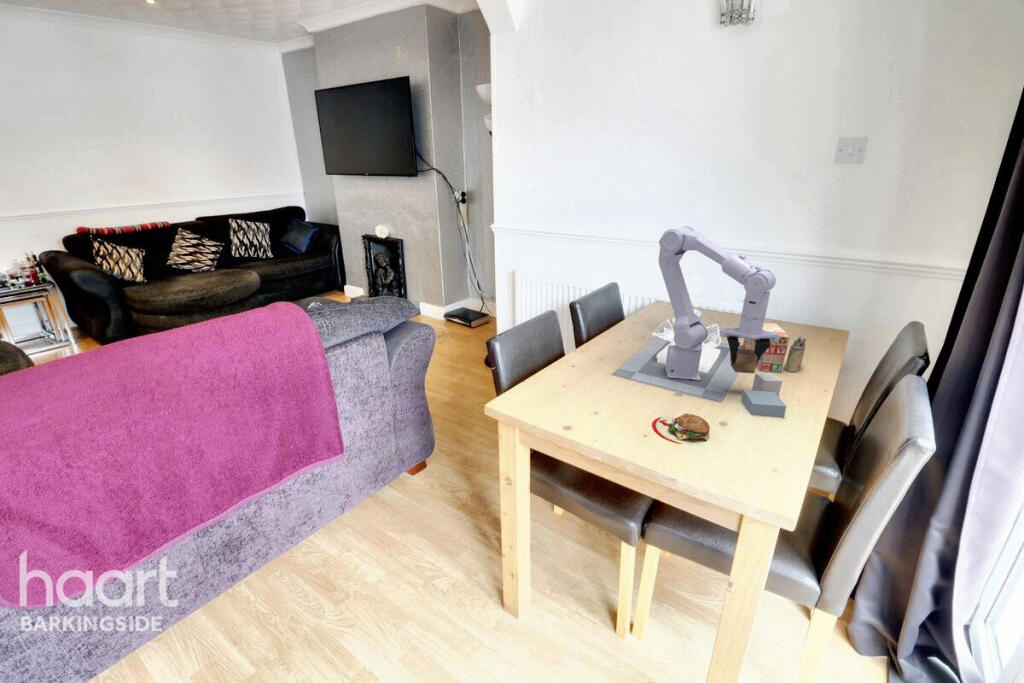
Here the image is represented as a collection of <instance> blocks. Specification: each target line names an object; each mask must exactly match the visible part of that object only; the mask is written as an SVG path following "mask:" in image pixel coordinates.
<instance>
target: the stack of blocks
mask: <svg viewBox="0 0 1024 683" xmlns="http://www.w3.org/2000/svg"><path fill="white" fill-rule="evenodd" d="M762 331H768V332H776V333H778V334H779V335H780V336H779V341H778V342H776V341H773V340H770V343H771V345H770V347H769V348H768V349H767V350H766V351H765V352H764V353H763V355H762V356H761V358H760V359H759V361H758V363H757V365H756V368H757V369H758V371H759V372H763V373H777V374H778V373H779V374H781V372H782V369H783V366H784V361H785V356H786V355H787V354H786V353H787V351H788V346H789V342H790V338H791V337H790V336H789V335H788V334H787V332H786V330H784V329H783V328H782V327H780V326H779V324H777V323H773V322H772V323H771V322H764V324H763V329H762ZM755 340H756V339H747V338H743V342H742V343H743V344H742V349H750V350H753V351H754V350H755Z"/></svg>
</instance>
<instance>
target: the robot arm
mask: <svg viewBox="0 0 1024 683" xmlns="http://www.w3.org/2000/svg"><path fill="white" fill-rule="evenodd" d="M658 244H659V254H658V265H659V268H660V271H661V275H662V278H663V282H664V285H665V288H666V291H667V294H668V298H669V301H670V304H671V307H672V310H673V314H674V318H675V321H674V323H673V327H672V328H673V332H674V333H673V334H674V336H673V341H674V344H675V345H673V344H672V345H668V348H667V352H666V359H665V366H664V369H665V374H666V377H667V378H669V379H671V378H672V379H678V378H679V380H689V379H692V381H701V380H702V379H701V375H700V374H699V369H700V368H699V367H700V362H701V356H702V350H703V342H705V341H706V340H707V339H708V335H709V332H708V328H707V326H705V325H704V323H703V322H702V319H701V317H700V316H699V315H698V314H696V313H695V310H694V307H693V303H692V300H691V298H690V294H689V291H688V287H687V284H686V281H685V278H684V274H683V270H682V268H681V266H680V261H681V260H682V259H683V257H684V255H685V253H687V251H697V252H698V253H700V254H701V255H704V256H705V257H707V258H708V259H711V260H712V261H714V262H715V263H716V264H717V263H718V264H719V265H720V267H721V271H722V273H724V274H725V275H727V276H728V277H730V278H731V279H733V280H735V282H737V283H739V284H740V285H742V286H743V288H744V290H745V297H744V299H743V306H742V310H741V315H740V319H739V320H740V321H739V324H738V327H737V328H736V327H735V328H720V331H719V337H720V338H726V340H727V343H728V346H729V353H730V356H729V357H730V358H729V359H730V364H731V363H734V364H735V361H736V355H737V350H738V349H739V347H740V344H741V343H740V341H739V340H740V339H744V338H747V339H756V340H755V350H754V352H755V353H756V355H757V356H758V358H757V363H758V361H759V359H760V358H761V356H762V355H763V353H764V352H765V351H766V350H767V349H768V348H769V347H770V345H771V343H770V340H773V341H776V342H778V341H779V336H780V335H779V334H778V333H776V332H768V331H762V329H763V324H764V323H765V318H766V315H767V310H768V306H769V300H770V295H771V290H772V289H773V288H774V287H775V285H776V282H777V280H776V277H775V275H774V273H773V272H771V270H769V269H764V268H763V269H762V267H761V265H759V264H758V265H755V264H754V263H752V262H751V261H749V260H748V259H746V258H747V257H746V255H744V254H742V253H741V254H738V253H733V254H730V253H728V252H727V251H725V250H724V249H722V248H721V247H720V246H719V245H717V244H715V243H714V242H713V241H711V240H710V239H709V238H707V237H706V236H705V235H703V233H702V232H700V231H699V230H695V229H694V228H693V227H691V226H682V227H678V228H669V229H667V230H666V231H664V233H663V234H662V235H661V237H660V239H659V240H658ZM757 363H756V365H757Z"/></svg>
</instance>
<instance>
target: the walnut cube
mask: <svg viewBox="0 0 1024 683" xmlns="http://www.w3.org/2000/svg"><path fill="white" fill-rule="evenodd" d="M757 358H758V356H757V355H756V353H755V352H754V351H753V350H750V349H744V348H738V350H737V355H736V361H735V364H734V363H731V362H730V367H731V368H732V370H733V372H734V373H742V374H743V373H744V374H755V373H756V368H757V366H756V363H757Z"/></svg>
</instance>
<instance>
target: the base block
mask: <svg viewBox="0 0 1024 683" xmlns="http://www.w3.org/2000/svg"><path fill="white" fill-rule="evenodd" d="M741 402H742V403H743V405H744V406H745V408H746V410H747V411H748V412H749V414H750V415H751V416H763V417H774V418H784V417H785V414H786V410H787V404H785V403H784V401H782V399H781V398H780V397H778V396H777V394H776V393H775V392H765V391H754V390H753V389H752V390H750V389H743V390H742V395H741Z"/></svg>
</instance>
